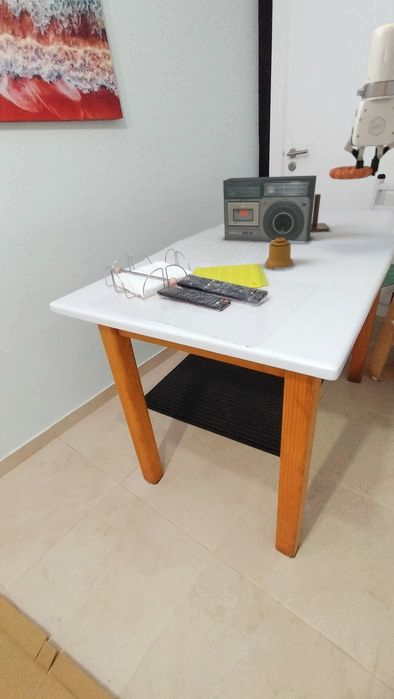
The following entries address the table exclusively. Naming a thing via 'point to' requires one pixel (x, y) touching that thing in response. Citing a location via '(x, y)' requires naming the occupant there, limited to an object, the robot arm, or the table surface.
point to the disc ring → (350, 172)
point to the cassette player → (268, 208)
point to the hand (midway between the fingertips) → (365, 175)
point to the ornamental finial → (279, 254)
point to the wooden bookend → (315, 225)
